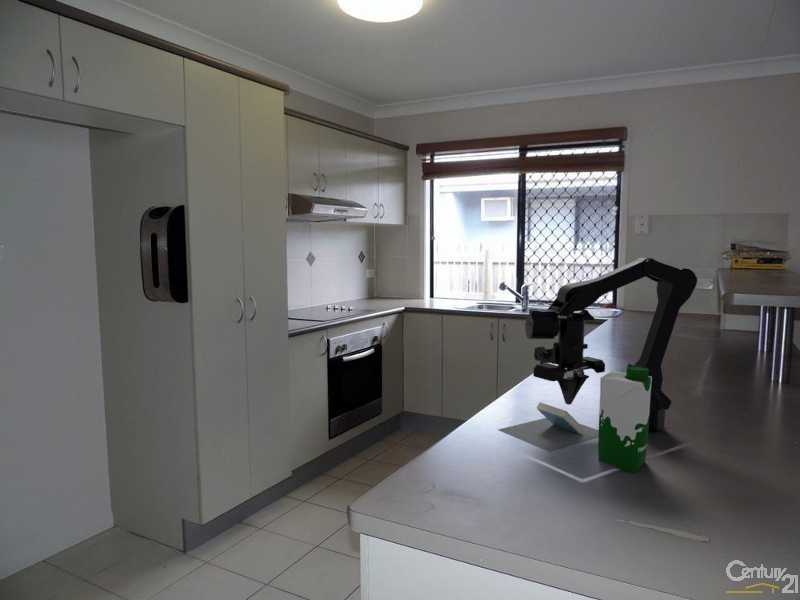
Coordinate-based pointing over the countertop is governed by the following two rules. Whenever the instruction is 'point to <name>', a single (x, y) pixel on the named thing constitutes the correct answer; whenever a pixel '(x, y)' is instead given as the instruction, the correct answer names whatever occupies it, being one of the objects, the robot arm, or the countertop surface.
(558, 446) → the mat
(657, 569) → the countertop surface
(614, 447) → the milk carton
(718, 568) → the countertop surface
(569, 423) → the tile
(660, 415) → the robot arm
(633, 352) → the countertop surface
